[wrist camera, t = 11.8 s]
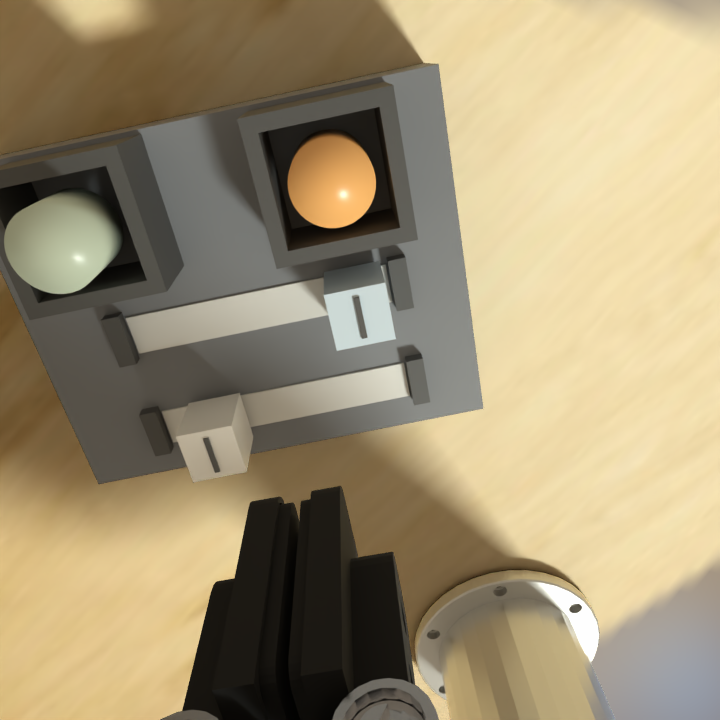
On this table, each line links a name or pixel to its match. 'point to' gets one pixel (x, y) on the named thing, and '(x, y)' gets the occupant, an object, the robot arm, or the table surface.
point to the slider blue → (358, 306)
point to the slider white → (215, 438)
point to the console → (252, 275)
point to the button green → (63, 240)
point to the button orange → (331, 179)
